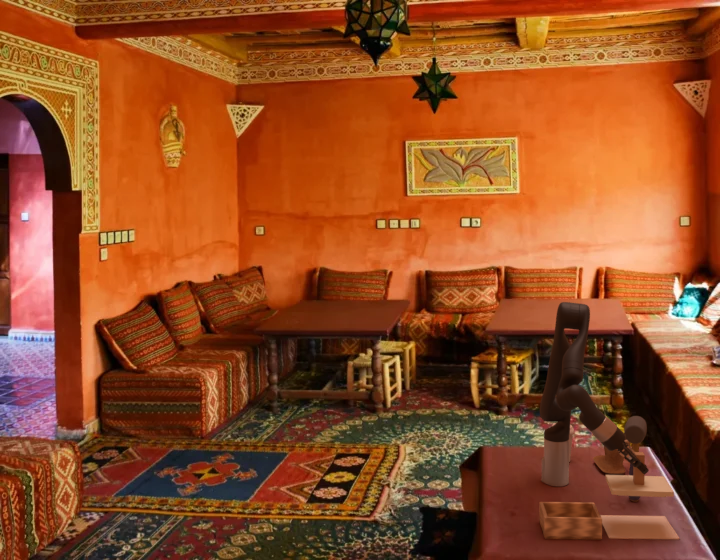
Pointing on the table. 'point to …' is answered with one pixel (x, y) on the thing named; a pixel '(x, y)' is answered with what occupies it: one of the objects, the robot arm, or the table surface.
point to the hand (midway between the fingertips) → (645, 470)
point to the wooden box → (570, 520)
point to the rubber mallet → (635, 439)
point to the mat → (638, 527)
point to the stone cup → (611, 461)
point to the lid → (639, 483)
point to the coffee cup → (569, 439)
